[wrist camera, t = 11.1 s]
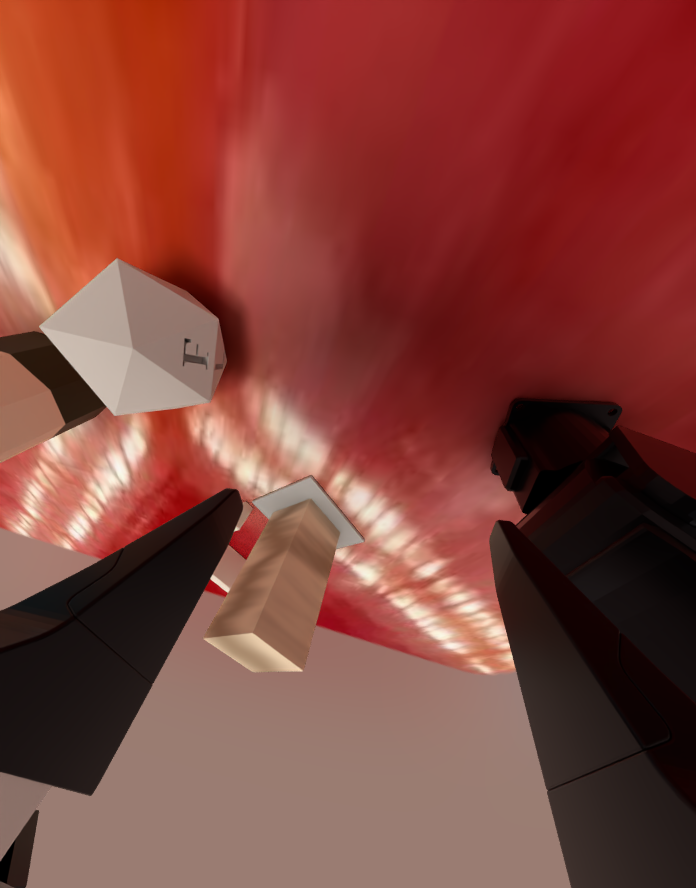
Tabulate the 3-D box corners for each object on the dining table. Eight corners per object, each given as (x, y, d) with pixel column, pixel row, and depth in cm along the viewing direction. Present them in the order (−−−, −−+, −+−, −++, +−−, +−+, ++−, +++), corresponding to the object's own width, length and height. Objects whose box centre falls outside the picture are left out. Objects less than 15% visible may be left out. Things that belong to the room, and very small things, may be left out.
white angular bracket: (246, 501, 31) (226, 529, 28) (301, 557, 35) (290, 587, 31) (195, 523, 35) (173, 549, 32) (250, 570, 39) (235, 599, 36)
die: (221, 407, 25) (222, 438, 17) (94, 389, 21) (9, 419, 13) (231, 309, 23) (239, 287, 15) (94, 269, 19) (-7, 206, 11)
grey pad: (311, 475, 27) (310, 477, 27) (364, 539, 30) (364, 541, 30) (253, 500, 30) (251, 502, 30) (306, 554, 34) (306, 556, 34)
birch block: (310, 498, 28) (252, 632, 18) (340, 532, 30) (303, 671, 20) (273, 512, 30) (202, 638, 20) (302, 543, 33) (252, 672, 22)
